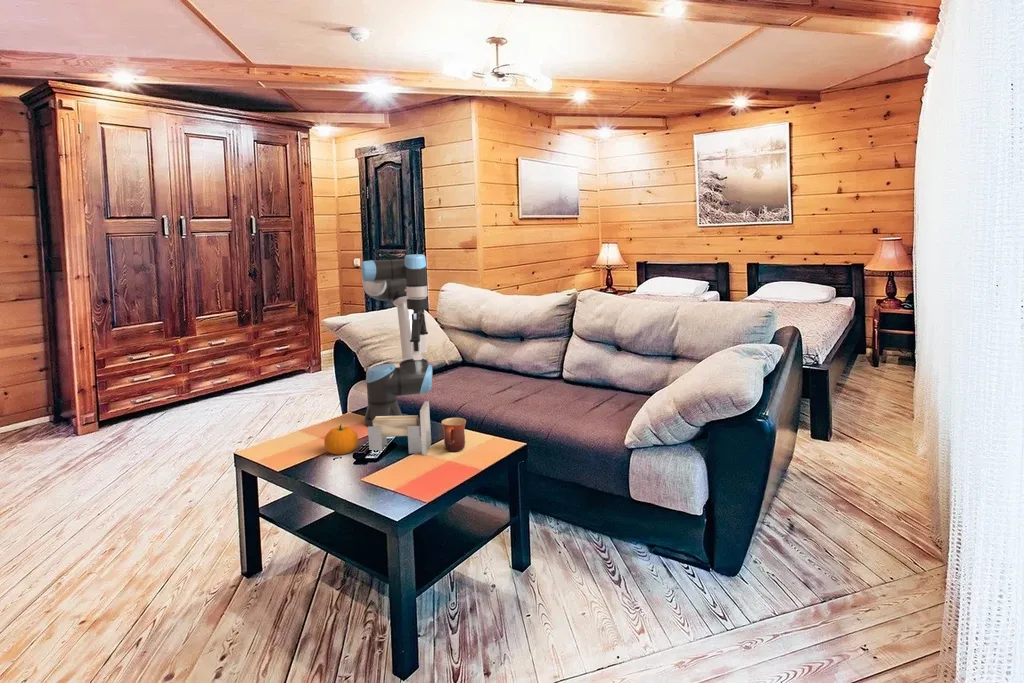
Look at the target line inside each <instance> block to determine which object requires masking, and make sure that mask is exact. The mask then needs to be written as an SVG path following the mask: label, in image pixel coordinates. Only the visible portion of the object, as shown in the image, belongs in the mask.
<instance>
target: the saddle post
mask: <svg viewBox="0 0 1024 683" xmlns="http://www.w3.org/2000/svg"><path fill="white" fill-rule="evenodd" d="M367 434H368V448H369V450H379V451H382V452H383V449H384V447H385V445H386V443H387V444H388V439H387V437H388V436H382V432H381V426H374V423H373V426H371V427H370V426H367ZM369 450H368V451H369Z"/></svg>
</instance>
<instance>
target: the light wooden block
mask: <svg viewBox="0 0 1024 683" xmlns="http://www.w3.org/2000/svg"><path fill="white" fill-rule="evenodd" d="M418 419H419V415H418V414H417V415H413V414H412V415H402V416H376V417H375V419H374V420H373V423H374V426H381V432H382V436H387V437H408V430H407V426H413V425H419V422H418Z"/></svg>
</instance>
